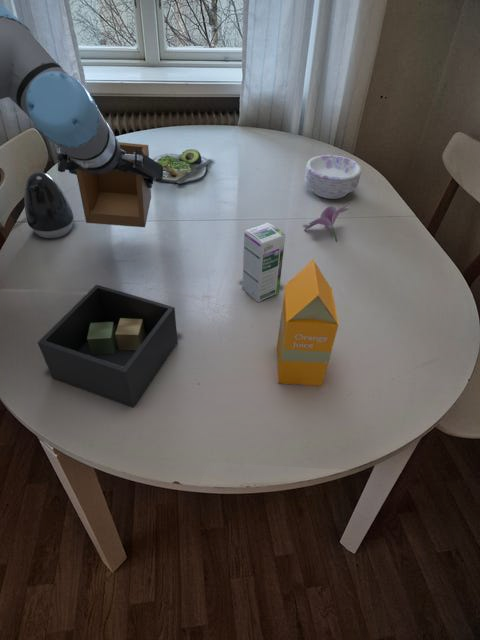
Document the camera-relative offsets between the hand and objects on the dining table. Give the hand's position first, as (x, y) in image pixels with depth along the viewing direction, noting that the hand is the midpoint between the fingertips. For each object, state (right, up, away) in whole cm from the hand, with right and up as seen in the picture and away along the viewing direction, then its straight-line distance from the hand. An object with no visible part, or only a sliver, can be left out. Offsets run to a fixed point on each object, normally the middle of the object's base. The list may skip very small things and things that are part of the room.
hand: (119, 178), depth 87 cm
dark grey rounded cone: (-20, -8, +17) cm, 28 cm away
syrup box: (+29, -23, +4) cm, 37 cm away
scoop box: (-1, -6, +3) cm, 6 cm away
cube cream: (+5, -33, -12) cm, 35 cm away
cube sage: (+1, -33, -13) cm, 36 cm away
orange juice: (+35, -37, -11) cm, 52 cm away
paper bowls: (+51, +9, +38) cm, 64 cm away
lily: (+46, -7, +21) cm, 51 cm away
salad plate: (+6, +17, +45) cm, 48 cm away
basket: (+3, -36, -11) cm, 37 cm away
